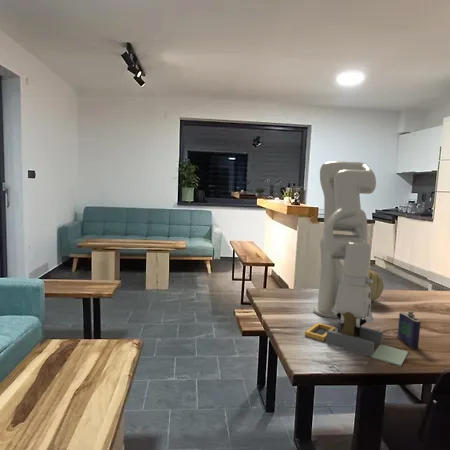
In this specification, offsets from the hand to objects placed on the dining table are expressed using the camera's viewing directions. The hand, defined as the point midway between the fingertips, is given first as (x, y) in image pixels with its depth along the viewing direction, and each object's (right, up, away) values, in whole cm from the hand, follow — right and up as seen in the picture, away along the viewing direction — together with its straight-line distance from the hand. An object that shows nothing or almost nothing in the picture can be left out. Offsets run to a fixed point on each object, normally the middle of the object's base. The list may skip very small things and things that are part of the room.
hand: (350, 335), depth 118 cm
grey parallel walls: (+1, -2, 0) cm, 3 cm away
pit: (-8, -1, +6) cm, 10 cm away
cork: (0, -2, 0) cm, 3 cm away
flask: (+20, -3, +2) cm, 20 cm away
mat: (+9, -4, -8) cm, 13 cm away
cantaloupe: (+22, +1, +46) cm, 51 cm away
